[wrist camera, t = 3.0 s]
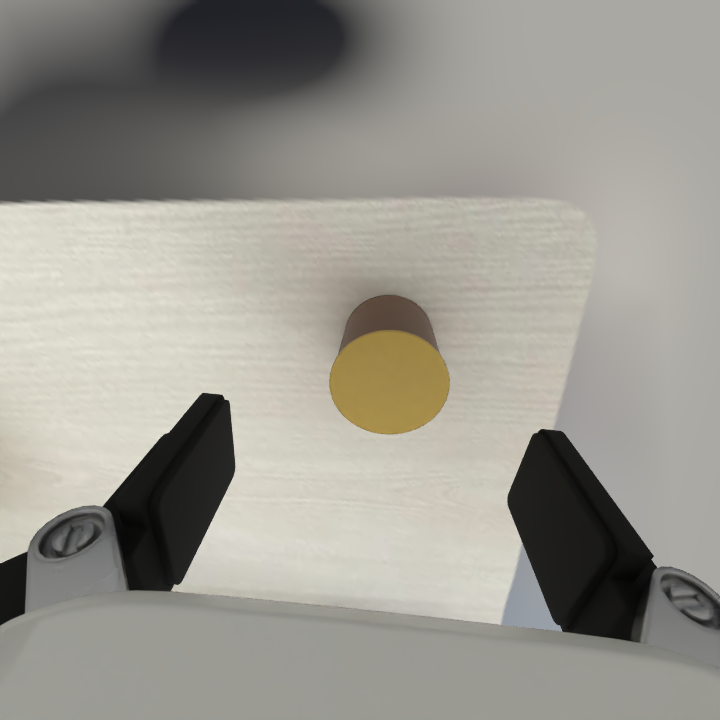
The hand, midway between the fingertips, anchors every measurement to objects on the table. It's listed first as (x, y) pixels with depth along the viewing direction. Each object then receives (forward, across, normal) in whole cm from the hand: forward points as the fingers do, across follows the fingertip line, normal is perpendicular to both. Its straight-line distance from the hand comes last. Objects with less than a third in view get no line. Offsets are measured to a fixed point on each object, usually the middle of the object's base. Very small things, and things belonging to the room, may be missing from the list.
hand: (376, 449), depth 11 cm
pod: (+9, -1, 0) cm, 9 cm away
